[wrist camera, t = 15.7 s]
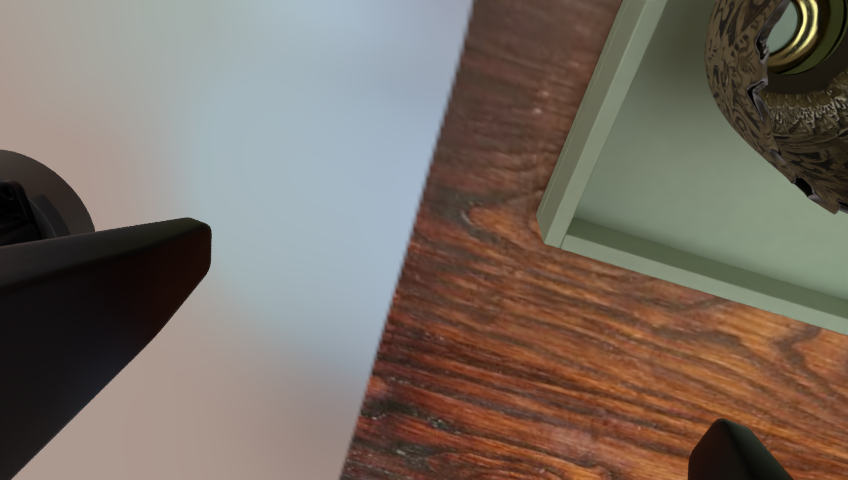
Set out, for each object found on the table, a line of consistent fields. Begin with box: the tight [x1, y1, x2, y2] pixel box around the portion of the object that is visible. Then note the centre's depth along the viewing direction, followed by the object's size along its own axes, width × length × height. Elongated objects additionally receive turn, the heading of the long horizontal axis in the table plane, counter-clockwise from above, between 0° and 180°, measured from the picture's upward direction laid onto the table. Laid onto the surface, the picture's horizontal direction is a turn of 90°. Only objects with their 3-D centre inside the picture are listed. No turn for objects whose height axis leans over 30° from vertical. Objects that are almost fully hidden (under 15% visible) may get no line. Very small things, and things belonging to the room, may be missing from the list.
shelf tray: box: [536, 0, 848, 335], centre depth 16 cm, size 13×17×3 cm
